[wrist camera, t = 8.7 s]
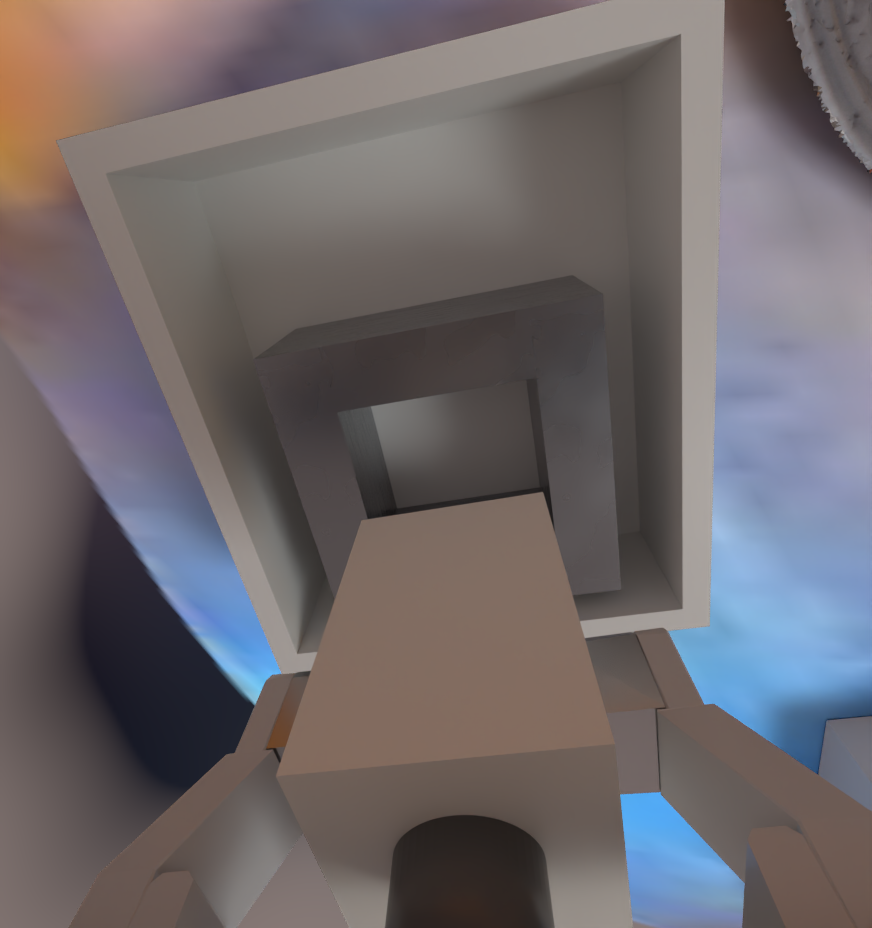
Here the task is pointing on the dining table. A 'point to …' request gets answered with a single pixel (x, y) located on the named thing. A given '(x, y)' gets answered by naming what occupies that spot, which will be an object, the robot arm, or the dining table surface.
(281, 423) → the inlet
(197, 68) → the dining table surface
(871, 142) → the food plate
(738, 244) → the dining table surface
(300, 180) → the walled box
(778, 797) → the robot arm
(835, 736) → the open square frame
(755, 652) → the dining table surface
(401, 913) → the connector
